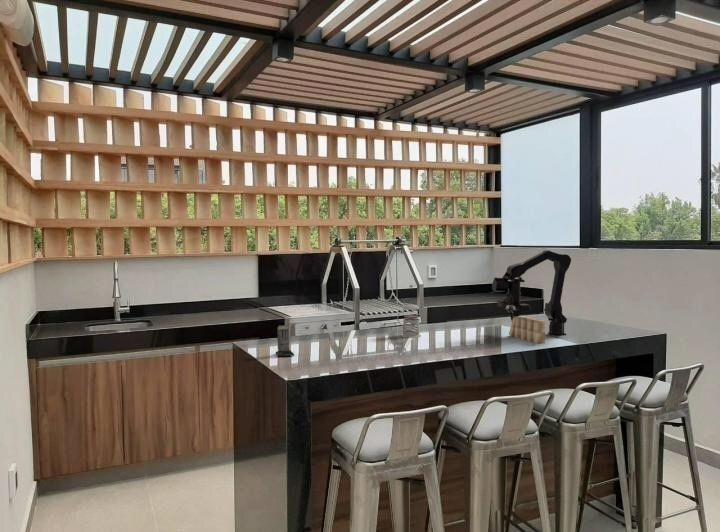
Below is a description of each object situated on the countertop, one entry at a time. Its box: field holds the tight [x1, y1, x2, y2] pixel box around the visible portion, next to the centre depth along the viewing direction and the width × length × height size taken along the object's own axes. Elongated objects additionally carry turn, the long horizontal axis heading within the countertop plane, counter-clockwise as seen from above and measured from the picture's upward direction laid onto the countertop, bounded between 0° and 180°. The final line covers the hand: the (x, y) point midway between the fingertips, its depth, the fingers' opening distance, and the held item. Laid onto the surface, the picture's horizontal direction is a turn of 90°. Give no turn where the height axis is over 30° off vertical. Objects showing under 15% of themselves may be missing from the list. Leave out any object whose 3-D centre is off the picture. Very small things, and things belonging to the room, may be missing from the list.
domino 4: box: [526, 318, 540, 342], centre depth 255 cm, size 5×2×10 cm, turn 109°
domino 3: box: [520, 317, 533, 341], centre depth 259 cm, size 5×2×10 cm, turn 109°
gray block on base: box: [274, 324, 295, 357], centre depth 225 cm, size 9×8×12 cm
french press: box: [397, 284, 422, 339], centre depth 268 cm, size 10×12×25 cm
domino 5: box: [532, 319, 546, 344], centre depth 250 cm, size 5×2×10 cm, turn 109°
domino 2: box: [514, 315, 528, 339], centre depth 264 cm, size 5×2×10 cm, turn 109°
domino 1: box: [508, 316, 518, 337], centre depth 267 cm, size 5×2×10 cm, turn 109°
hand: (513, 323), depth 269 cm, fingers closed
